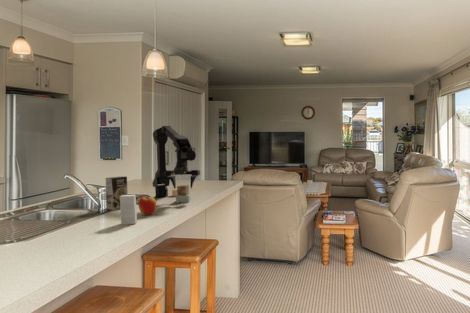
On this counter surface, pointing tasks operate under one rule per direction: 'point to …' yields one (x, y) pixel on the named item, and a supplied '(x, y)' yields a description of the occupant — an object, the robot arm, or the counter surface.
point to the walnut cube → (183, 190)
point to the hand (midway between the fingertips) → (183, 188)
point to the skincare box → (128, 209)
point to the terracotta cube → (174, 192)
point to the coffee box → (115, 191)
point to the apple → (147, 205)
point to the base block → (183, 198)
